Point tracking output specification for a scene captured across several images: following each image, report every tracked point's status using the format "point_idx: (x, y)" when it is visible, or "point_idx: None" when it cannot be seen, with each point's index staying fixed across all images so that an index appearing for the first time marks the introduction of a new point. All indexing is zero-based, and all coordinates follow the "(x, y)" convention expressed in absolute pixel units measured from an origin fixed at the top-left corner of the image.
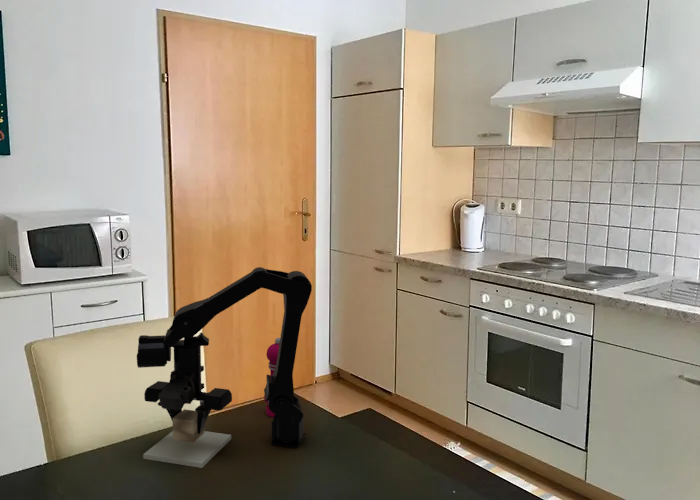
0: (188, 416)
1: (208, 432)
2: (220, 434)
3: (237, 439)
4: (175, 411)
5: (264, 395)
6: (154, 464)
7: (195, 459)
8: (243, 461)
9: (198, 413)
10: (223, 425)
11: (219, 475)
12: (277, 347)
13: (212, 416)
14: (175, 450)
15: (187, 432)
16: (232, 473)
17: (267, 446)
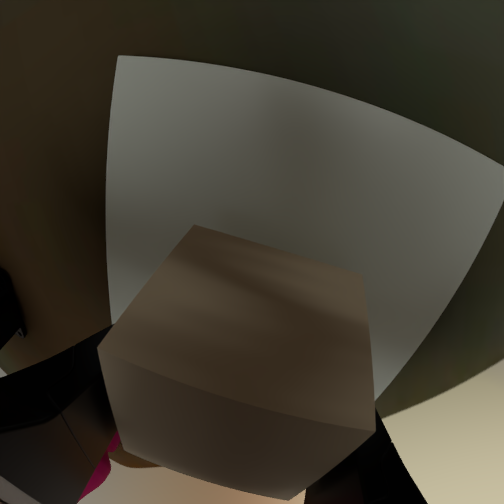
0: (200, 436)
1: None
2: None
3: (102, 323)
4: (344, 498)
5: (97, 469)
6: (432, 85)
7: (165, 92)
8: (16, 155)
9: (35, 412)
10: None
11: (53, 22)
12: None
13: None
14: (334, 208)
15: (217, 281)
16: (20, 56)
17: (10, 265)
